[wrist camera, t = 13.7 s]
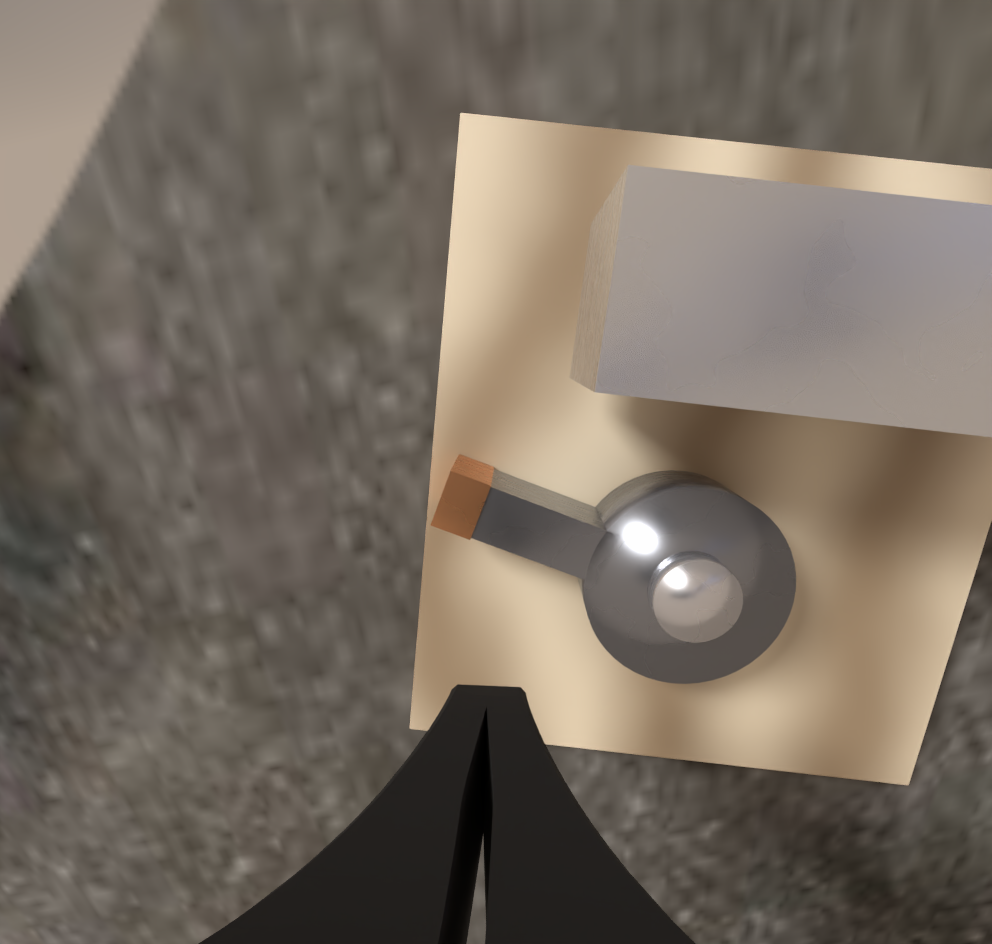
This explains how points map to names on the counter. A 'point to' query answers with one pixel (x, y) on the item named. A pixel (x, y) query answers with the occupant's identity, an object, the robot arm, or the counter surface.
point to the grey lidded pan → (644, 563)
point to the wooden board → (693, 448)
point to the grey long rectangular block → (789, 300)
